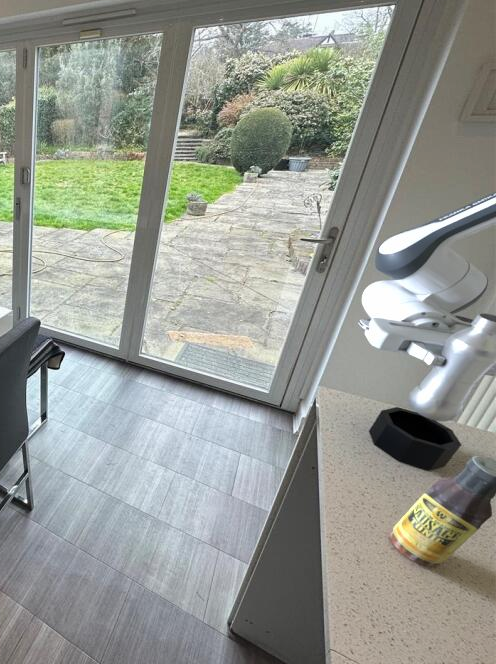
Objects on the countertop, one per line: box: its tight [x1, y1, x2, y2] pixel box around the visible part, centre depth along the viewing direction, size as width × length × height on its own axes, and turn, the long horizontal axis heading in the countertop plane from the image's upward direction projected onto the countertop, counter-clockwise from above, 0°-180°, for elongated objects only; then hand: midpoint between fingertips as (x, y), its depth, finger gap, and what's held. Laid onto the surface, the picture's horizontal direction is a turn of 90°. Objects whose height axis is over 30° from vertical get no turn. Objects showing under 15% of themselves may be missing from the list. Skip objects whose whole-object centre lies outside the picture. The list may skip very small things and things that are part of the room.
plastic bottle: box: [407, 312, 496, 422], centre depth 70 cm, size 6×7×20 cm
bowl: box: [368, 406, 462, 472], centre depth 84 cm, size 11×11×6 cm
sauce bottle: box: [389, 455, 496, 567], centre depth 61 cm, size 6×6×20 cm
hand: (464, 367), depth 68 cm, fingers closed on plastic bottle, 6 cm apart
